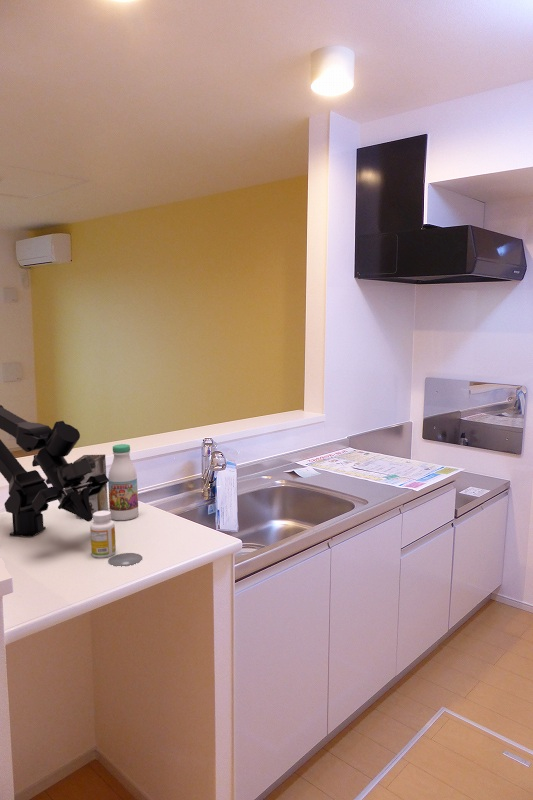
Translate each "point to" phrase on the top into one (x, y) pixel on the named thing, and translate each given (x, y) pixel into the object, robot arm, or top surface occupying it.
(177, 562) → the top surface
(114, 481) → the milk bottle
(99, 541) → the supplement bottle
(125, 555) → the coaster
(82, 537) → the top surface
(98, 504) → the coffee box
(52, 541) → the top surface
